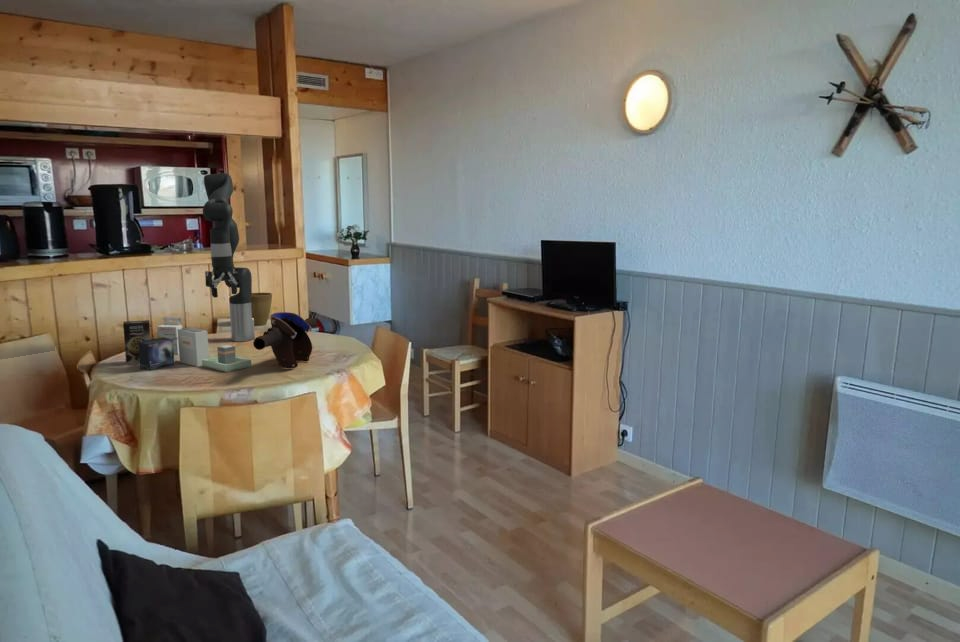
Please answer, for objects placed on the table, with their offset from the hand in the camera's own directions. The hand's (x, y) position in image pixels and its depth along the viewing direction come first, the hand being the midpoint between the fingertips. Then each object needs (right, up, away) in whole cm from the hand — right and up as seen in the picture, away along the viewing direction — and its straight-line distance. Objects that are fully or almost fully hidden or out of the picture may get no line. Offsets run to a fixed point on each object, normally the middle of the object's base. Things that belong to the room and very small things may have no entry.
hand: (224, 295), depth 252 cm
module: (+4, -27, -8) cm, 28 cm away
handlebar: (+27, -27, -4) cm, 39 cm away
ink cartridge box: (-27, -24, +13) cm, 38 cm away
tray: (+4, -27, -8) cm, 29 cm away
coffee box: (-32, -26, -3) cm, 42 cm away
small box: (-22, -28, -10) cm, 37 cm away
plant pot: (-14, -12, +79) cm, 82 cm away
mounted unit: (-11, -26, -3) cm, 29 cm away
